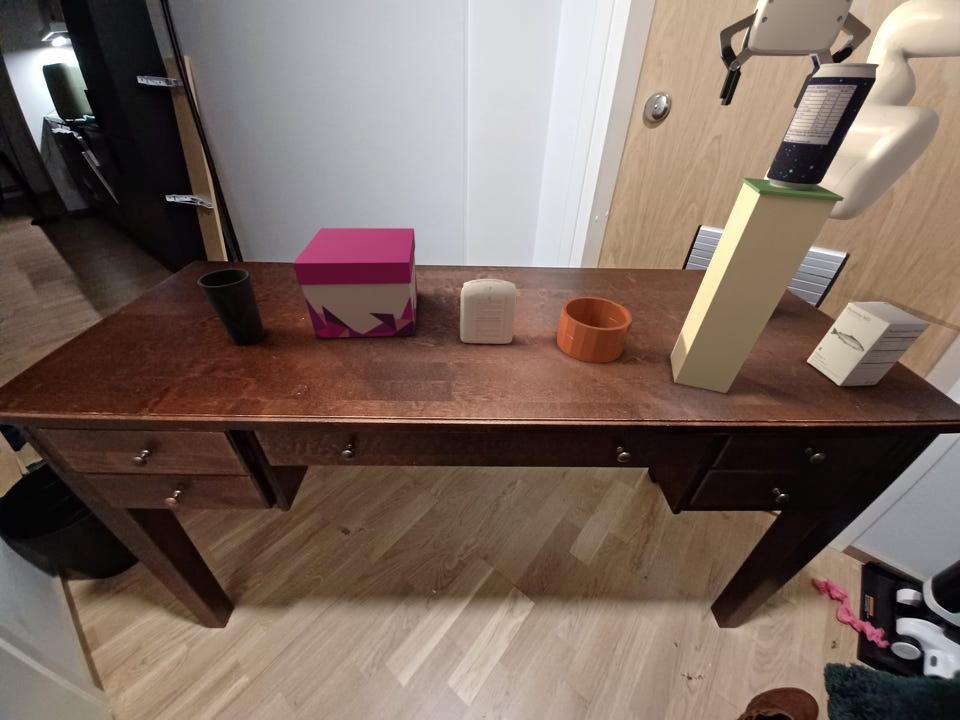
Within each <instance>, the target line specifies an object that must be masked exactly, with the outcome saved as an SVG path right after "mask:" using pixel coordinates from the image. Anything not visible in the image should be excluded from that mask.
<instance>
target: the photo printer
mask: <svg viewBox="0 0 960 720" xmlns="http://www.w3.org/2000/svg"><path fill="white" fill-rule="evenodd" d="M517 303H518V292H517V286H516V284H515V283H513V282H511V281H508V280H504V279H498V278H479V279H473V280H469V281H466V282H463V287H462V289H461V291H460V308H459V309H460V311H459V313H460V314H459V315H460V317H459V339H460V341H461V342H462V343H466V344H494V345H495V344H497V345H499V344H500V345H501V344H503V345H505V344H510V343H511V342H513V339H514V338H513V336H514V327H515V320H516V312H517V311H516V310H517Z"/></svg>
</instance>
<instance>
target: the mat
mask: <svg viewBox="0 0 960 720" xmlns="http://www.w3.org/2000/svg"><path fill="white" fill-rule="evenodd" d="M741 182H743V184H744V183H745V184H747V185H748V186H749V187H751V188H752V189H753V190H754V191H756V192H757V193H758V194H769V195H780V196H791V197H802V198H812V199H823V200H834V201H843V199H844V197H842V196H840V195H838V194H835V193H833V192H831V191H829V190H827V189H825V188H823V187H821V186H819V185H815V186H813V187H811V188H810V189H809V190H791V189H784V188H778V187H774V186H772V185H770V181H769V180H764V178H752V177H742V179H741Z"/></svg>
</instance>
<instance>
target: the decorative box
mask: <svg viewBox="0 0 960 720" xmlns="http://www.w3.org/2000/svg"><path fill="white" fill-rule="evenodd" d="M415 251H416V236H415V228H414V227H413V228H412V227H409V228H408V227H406V228H405V227H402V228H401V227H396V228H395V227H391V228H390V227H383V228H382V227H368V228H367V227H362V228H361V227H343V228H342V227H330V228H329V227H328V228H327V227H321V228H320V229H319V230H318V231H317V233H316V234H315V235H314V236H313V237H312V239H311V240H310V241H309V243H308V244H307V245H306V246H305V247H304V249H303V250H302V251H301V252H300V254H299V255H298V256H297V257H296V259H295V260H294V261H293V262H292V266H293V269H294V273H295V276H296V279H297V283H298V286H301V289H302V292H303V296H304V300H305V302H306V306H307V307H306V308H307V310H308V314H309V316H310V322H311V325H312V328H313V331H314V335H315V338H316V339H325V338H326V339H328V338H329V339H330V338H331V339H332V338H361V337H362V338H363V337H398V336H401V337H403V336H415V331H416V330H415V328H416V316H417V305H418V304H417V303H418V282H417V281H418V280H417V268H416V258H415V257H416V256H415V255H416V254H415V253H416V252H415Z"/></svg>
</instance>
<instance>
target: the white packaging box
mask: <svg viewBox="0 0 960 720" xmlns="http://www.w3.org/2000/svg"><path fill="white" fill-rule="evenodd" d="M931 325H932V324H931V323H930V322H928V321H925V320H924V319H921V318H919V317H918V316H916V315H913V314H911V313H909V312H907V311H905V310H903V309H901V308H899V307H897V306H895V305H894V304H891V303H889V302H887V301H851V302H848V304H847V305H846V306H845V308H844V309H843V310H842V311H841V313H840V314H839V316H838V317H837V319H836V320H835V322H833V324H832V325H831V327H830V328H829V330H828V331H827V332H826V334H825V335H824V336H823V338H822V339H821V340H820V342H819V343H818V345H817V346H816V347H815V349H814V350H813V352H812V353H811V354H810V356H809V357H808V359H807V360H806V362H807V363H808V364H810V365H811V366H813V367H814V368H815V369H817V370H818V371H819V372H821V373H822V374H823V375H825V376H826V377H827V378H828V379H830V380H831V381H832V382H834V383H835V385H837V386H839V387H854V386H855V387H856V386H874V385H876V384H877V383H878V382H880V380H881V379H882V378H883V377H884V376H886V374H887V373H888V372H889V371H890V370H891V369H892V368H893V366H894V365H895V364H896V363H897V362H898V361H899V360H900V359H901V357H902V356H903V355H905V353H906V352H907V351H908V350H909V349H910V347H912V345H913V344H914V343H915V342H916V341H917V340H918V339H919V338H920V336H921V335H922V334H924V332H926V331H927V329H928V328H930V326H931Z"/></svg>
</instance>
